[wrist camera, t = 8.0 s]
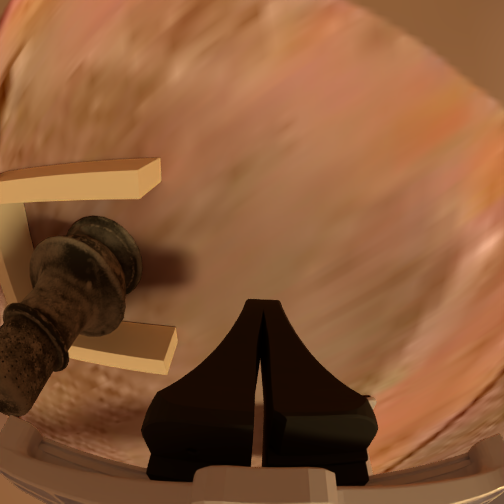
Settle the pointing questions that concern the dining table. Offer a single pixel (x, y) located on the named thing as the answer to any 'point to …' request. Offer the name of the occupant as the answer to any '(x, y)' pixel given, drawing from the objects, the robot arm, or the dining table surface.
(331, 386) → the robot arm
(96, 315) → the dark bronze turned piece
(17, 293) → the holder
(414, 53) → the dining table surface
